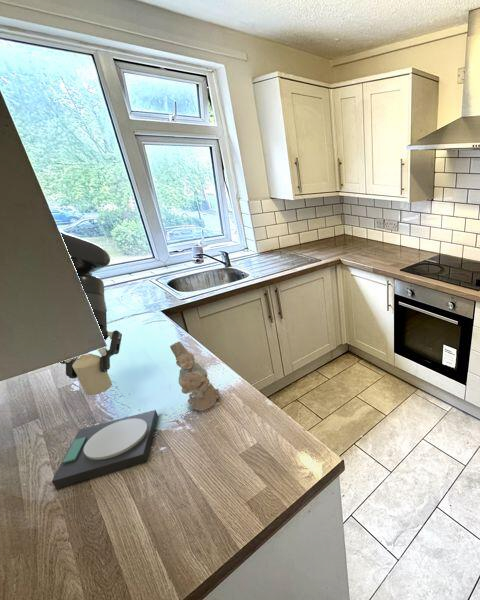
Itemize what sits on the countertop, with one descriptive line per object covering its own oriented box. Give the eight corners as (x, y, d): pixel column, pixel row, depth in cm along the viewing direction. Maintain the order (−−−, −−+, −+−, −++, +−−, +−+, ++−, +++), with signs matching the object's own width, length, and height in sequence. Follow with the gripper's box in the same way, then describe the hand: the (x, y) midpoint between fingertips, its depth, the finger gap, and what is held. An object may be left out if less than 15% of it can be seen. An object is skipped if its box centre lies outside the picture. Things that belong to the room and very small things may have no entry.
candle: (89, 398, 83) (74, 365, 79) (81, 390, 86) (66, 358, 82) (115, 386, 88) (102, 355, 84) (107, 379, 90) (94, 348, 86)
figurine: (186, 399, 96) (167, 340, 88) (218, 388, 100) (202, 331, 92) (188, 417, 89) (167, 355, 81) (222, 405, 93) (206, 345, 85)
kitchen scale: (55, 489, 70) (49, 478, 69) (83, 436, 83) (78, 426, 82) (146, 461, 76) (142, 451, 75) (158, 416, 89) (154, 407, 88)
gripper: (43, 313, 82) (41, 379, 77) (114, 303, 88) (117, 364, 83) (60, 323, 88) (60, 384, 83) (126, 313, 94) (129, 370, 89)
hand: (88, 374), depth 83 cm, fingers closed on candle, 5 cm apart
